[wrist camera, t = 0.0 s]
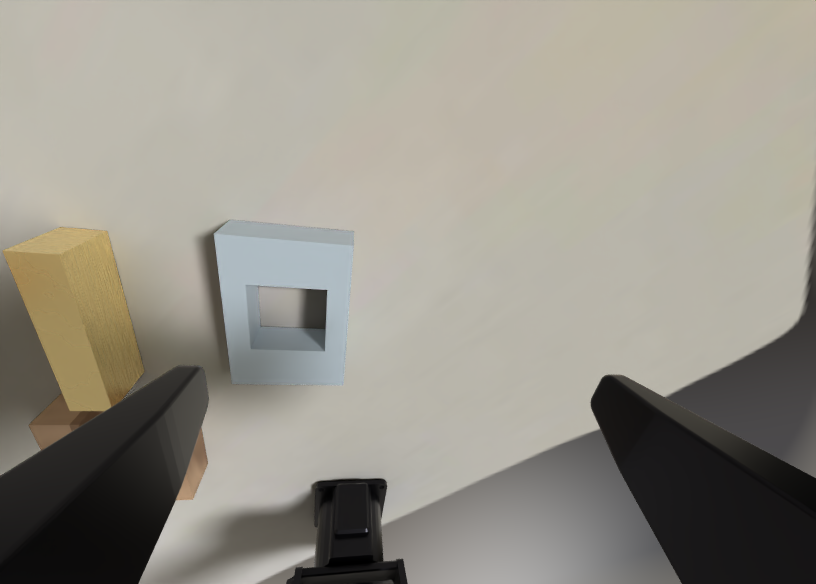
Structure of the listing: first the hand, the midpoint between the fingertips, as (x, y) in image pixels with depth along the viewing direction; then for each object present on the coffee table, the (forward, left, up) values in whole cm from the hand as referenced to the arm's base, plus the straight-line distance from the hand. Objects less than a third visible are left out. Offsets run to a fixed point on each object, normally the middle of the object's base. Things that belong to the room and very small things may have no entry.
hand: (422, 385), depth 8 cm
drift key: (-8, +16, -15) cm, 23 cm away
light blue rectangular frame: (-6, +5, -15) cm, 17 cm away
